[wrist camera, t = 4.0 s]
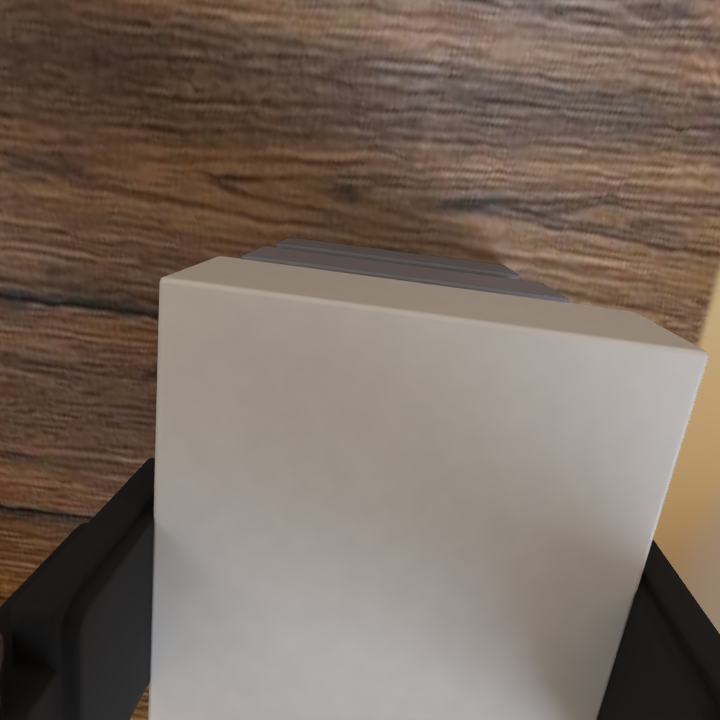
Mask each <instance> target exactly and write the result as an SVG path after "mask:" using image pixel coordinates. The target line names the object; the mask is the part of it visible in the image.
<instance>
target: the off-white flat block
mask: <svg viewBox="0 0 720 720" xmlns="http://www.w3.org/2000/svg"><path fill="white" fill-rule="evenodd" d="M707 360H708V352H706V351H705V350H703V349H701V348H699V347H698V346H696V345H694V344H692V343H690V342H688V341H687V340H685V339H683V338H681V337H679V336H677V335H676V334H674V333H672V332H670V331H668V330H666V329H665V328H663V327H661V326H659V325H657V324H655V323H654V322H652V321H650V320H648V319H646V318H644V317H643V316H641V315H639V314H637V313H635V312H632V311H625V310H617V309H610V308H602V307H595V306H587V305H580V304H573V303H565V302H558V301H550V300H543V299H535V298H528V297H521V296H513V295H506V294H498V293H491V292H483V291H476V290H469V289H461V288H454V287H446V286H439V285H431V284H424V283H417V282H409V281H402V280H394V279H387V278H379V277H372V276H364V275H357V274H350V273H342V272H335V271H327V270H320V269H312V268H305V267H298V266H290V265H283V264H275V263H268V262H260V261H253V260H246V259H238V258H231V257H223V256H219V257H216V258H213V259H210V260H208V261H205V262H202V263H200V264H197V265H194V266H192V267H189V268H186V269H183V270H181V271H178V272H175V273H173V274H170V275H167V276H165V277H162V278H161V280H160V287H159V325H158V364H157V402H156V441H155V480H154V541H153V579H152V617H151V655H150V681H149V711H148V720H597V718H598V715H599V711H600V708H601V705H602V702H603V698H604V695H605V692H606V689H607V685H608V682H609V679H610V675H611V672H612V669H613V666H614V662H615V659H616V656H617V653H618V649H619V646H620V643H621V640H622V636H623V633H624V630H625V626H626V623H627V620H628V617H629V613H630V610H631V607H632V604H633V600H634V597H635V594H636V591H637V589H638V586H639V583H640V579H641V576H642V573H643V570H644V566H645V563H646V560H647V556H648V553H649V550H650V547H651V543H652V540H653V537H654V534H655V530H656V527H657V524H658V521H659V517H660V514H661V511H662V507H663V504H664V501H665V498H666V494H667V491H668V488H669V485H670V481H671V478H672V475H673V471H674V468H675V465H676V462H677V458H678V455H679V452H680V449H681V445H682V442H683V439H684V436H685V432H686V429H687V426H688V423H689V419H690V416H691V413H692V410H693V406H694V403H695V400H696V397H697V393H698V390H699V387H700V383H701V380H702V377H703V374H704V370H705V367H706V364H707Z"/></svg>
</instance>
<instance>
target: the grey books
mask: <svg viewBox="0 0 720 720" xmlns="http://www.w3.org/2000/svg"><path fill="white" fill-rule="evenodd" d="M241 259H246V260H253V261H260V262H268V263H275V264H283V265H290V266H298V267H305V268H312V269H320V270H327V271H335V272H342V273H350V274H357V275H364V276H372V277H379V278H387V279H394V280H402V281H409V282H417V283H424V284H431V285H439V286H446V287H454V288H461V289H469V290H476V291H483V292H491V293H498V294H506V295H513V296H521V297H528V298H535V299H543V300H550V301H558V302H565V303H568V299H567V298H566V297H564V296H563V295H561V294H559V293H558V292H556V291H555V290H553V289H551V288H550V287H548V286H546V285H545V284H543V283H539V282H532V281H524V280H519V278H520V277H519V275H518V274H517V273H515V272H514V271H512V270H511V269H509V268H508V267H506V266H505V265H498V264H490V263H482V262H475V261H467V260H460V259H452V258H444V257H437V256H429V255H422V254H414V253H406V252H399V251H391V250H384V249H376V248H368V247H361V246H353V245H346V244H338V243H330V242H323V241H315V240H308V239H300V238H292V237H290V238H287V239H285V240H283V241H281V242H278V243H277V244H276V246H275V248H274V247H267V246H265V247H262V248H259V249H257V250H254V251H252V252H250V253H247V254H245V255H243V256H242V258H241Z"/></svg>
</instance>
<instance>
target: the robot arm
mask: <svg viewBox="0 0 720 720" xmlns="http://www.w3.org/2000/svg"><path fill="white" fill-rule="evenodd" d="M154 480H155V458H150V459H148V460H147V461H146V462H145V463H144V464H143V466H142V467H141V468H140V469H139V470H138V471H137V472H136V473H135V474H134V475H133V476H132V477H131V478H130V479H129V480H128V481H127V483H126V484H125V485H124V486H123V487H122V488H121V489H120V490H119V491H118V492H117V493H116V494H115V495H114V496H113V497H112V499H111V500H110V501H109V502H108V503H107V504H106V505H105V506H104V507H103V508H102V509H101V510H100V511H99V512H98V513H97V514H96V516H95V517H94V518H93V519H92V520H91V521H90V522H89V523H83V524H81V525H80V526H78V527H77V528H76V529H75V530H74V531H73V532H72V533H71V534H70V535H69V536H68V537H67V538H66V539H65V540H64V541H63V542H62V543H61V544H60V545H59V546H58V548H57V549H56V550H55V551H54V552H53V553H52V554H51V555H50V556H49V557H48V558H47V559H46V560H45V561H44V562H43V563H42V564H41V565H40V566H39V567H38V568H37V569H36V570H35V571H34V572H33V574H32V575H31V576H30V577H29V578H28V579H27V580H26V581H25V582H24V583H23V584H22V585H21V586H20V587H19V588H18V589H17V590H16V591H15V592H14V593H13V594H12V595H11V596H10V597H9V598H8V600H7V601H6V602H5V603H4V604H3V605H2V606H1V607H0V720H130V718H131V716H132V714H133V712H134V710H135V708H136V706H137V704H138V702H139V700H140V698H141V696H142V695H143V693H144V691H145V689H146V687H147V685H148V683H149V681H150V655H151V617H152V579H153V541H154ZM597 720H720V634H719V633H718V631H717V630H716V628H715V627H714V626H713V624H712V623H711V621H710V620H709V618H708V617H707V616H706V614H705V613H704V611H703V610H702V609H701V607H700V606H699V604H698V603H697V601H696V600H695V598H694V597H693V596H692V594H691V593H690V591H689V590H688V589H687V587H686V586H685V584H684V583H683V582H682V580H681V579H680V577H679V576H678V574H677V573H676V571H675V570H674V569H673V567H672V566H671V564H670V563H669V561H668V560H667V559H666V557H665V556H664V555H663V553H662V552H661V550H660V549H659V547H658V546H657V544H656V543H655V542H654V540H652V543H651V547H650V550H649V553H648V556H647V560H646V563H645V566H644V570H643V573H642V576H641V579H640V583H639V586H638V589H637V591H636V594H635V597H634V600H633V604H632V607H631V610H630V613H629V617H628V620H627V623H626V626H625V630H624V633H623V636H622V640H621V643H620V646H619V649H618V653H617V656H616V659H615V662H614V666H613V669H612V672H611V675H610V679H609V682H608V685H607V689H606V692H605V695H604V698H603V702H602V705H601V708H600V711H599V715H598V718H597Z"/></svg>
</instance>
